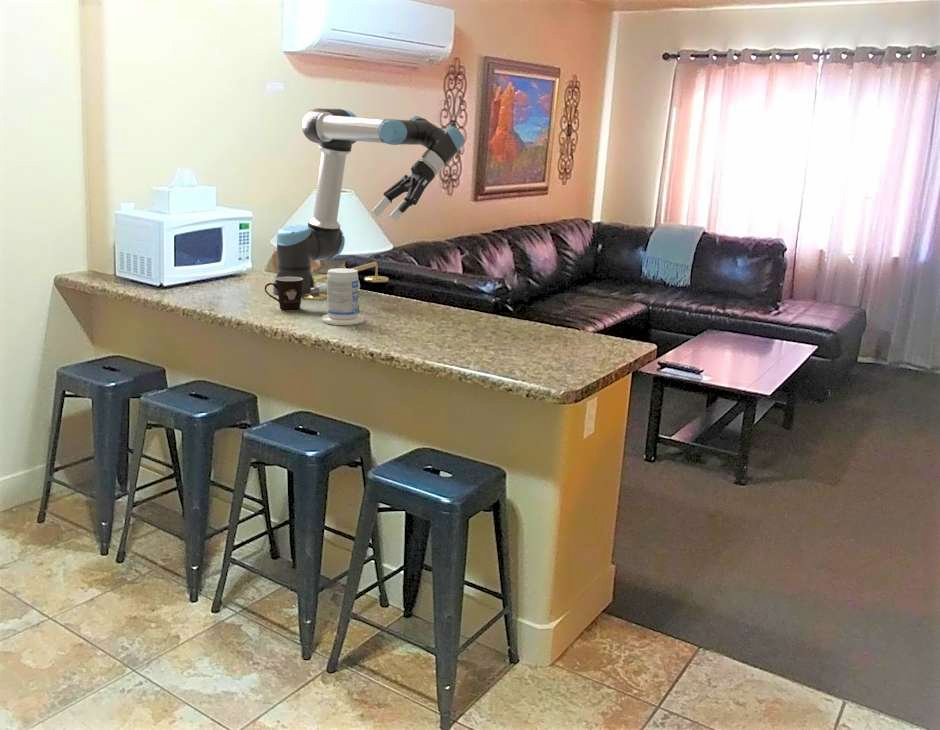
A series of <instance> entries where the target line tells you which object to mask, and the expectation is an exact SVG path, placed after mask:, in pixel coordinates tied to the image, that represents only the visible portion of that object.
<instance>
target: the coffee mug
mask: <svg viewBox="0 0 940 730" xmlns="http://www.w3.org/2000/svg"><path fill="white" fill-rule="evenodd" d="M275 278H276V277H275ZM276 282H277V284H274V282H269V283H267V284H265V285H264V291H265V293H266V294H267V295H268V296H269V297H270V298H271V299H273V300H276V301H277V302H278V304H279V309H281V310H280V311H283V310H285V311H284V312H295V311H296V310H297V311H300V309H301V303H302V296H301V294H302V284H303V278H300V277H279V278H276ZM270 285H272V286H273V285H274V286H275V287H276V289H277V290H278V294H277V295H278V298H276V297H275V296H273V295H271V294H270V293H269V291H268V290H267V288H268V286H270Z"/></svg>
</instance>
